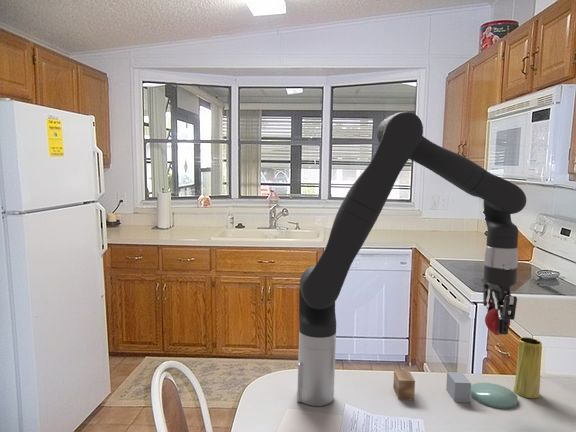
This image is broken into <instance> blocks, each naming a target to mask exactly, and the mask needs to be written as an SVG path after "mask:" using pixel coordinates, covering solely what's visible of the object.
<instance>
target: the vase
mask: <svg viewBox="0 0 576 432" xmlns="http://www.w3.org/2000/svg"><path fill="white" fill-rule="evenodd" d="M542 347H543V343H542V341H541V340H539V339H535V338H534V337H528V336H525V337H524V336H523V337H519V340H518V348H517V359H516V360H517V361H516V366H515V367H516V368H515V380H514V387H513V392H514V393H515V394H516V395H518V396H520V397H523V398H526V399H537V398H539V397H540V395H541V394H540V389H541V387H540V386H541V367H542V366H541V364H542V361H541V360H542Z"/></svg>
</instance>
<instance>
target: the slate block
mask: <svg viewBox="0 0 576 432" xmlns="http://www.w3.org/2000/svg"><path fill="white" fill-rule="evenodd" d="M471 385H472V382H471V381H470V380H469V378H468V377H467V376H466V374H464V372H458V371H456V372H455V371H453V372H452V371H447V372H446V386H445V387H446V388H445V390H446V392H447V393H448V394H449V397H451V399H452V401H453V402H460V403H463V402H464V403H470V402H471V395H470V393H471Z"/></svg>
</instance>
